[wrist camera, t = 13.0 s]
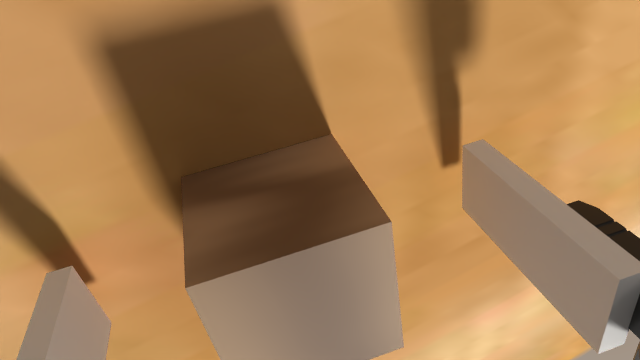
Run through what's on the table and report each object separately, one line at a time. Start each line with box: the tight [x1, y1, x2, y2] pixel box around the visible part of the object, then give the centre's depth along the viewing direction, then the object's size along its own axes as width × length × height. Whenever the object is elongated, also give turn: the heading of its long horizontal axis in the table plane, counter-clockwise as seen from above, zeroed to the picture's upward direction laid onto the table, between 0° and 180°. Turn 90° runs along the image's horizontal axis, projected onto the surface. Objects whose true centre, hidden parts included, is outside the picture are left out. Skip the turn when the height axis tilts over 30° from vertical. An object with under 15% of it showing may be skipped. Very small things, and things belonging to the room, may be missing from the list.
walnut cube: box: [181, 134, 404, 360], centre depth 14 cm, size 5×5×5 cm
